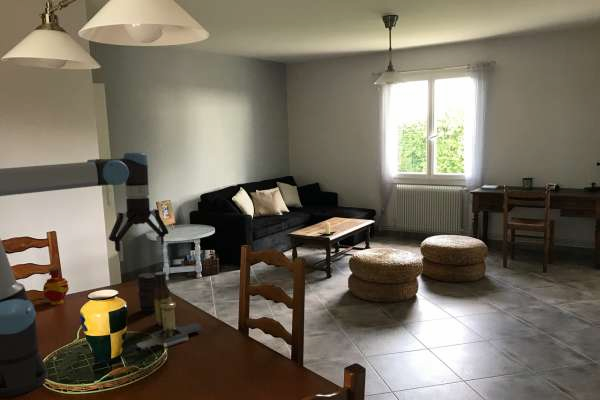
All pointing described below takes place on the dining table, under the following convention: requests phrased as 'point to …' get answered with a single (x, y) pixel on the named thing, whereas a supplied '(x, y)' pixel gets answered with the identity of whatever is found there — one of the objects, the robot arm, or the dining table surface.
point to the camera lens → (147, 292)
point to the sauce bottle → (160, 295)
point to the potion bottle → (55, 287)
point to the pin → (168, 318)
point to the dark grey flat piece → (179, 337)
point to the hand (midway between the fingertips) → (140, 257)
